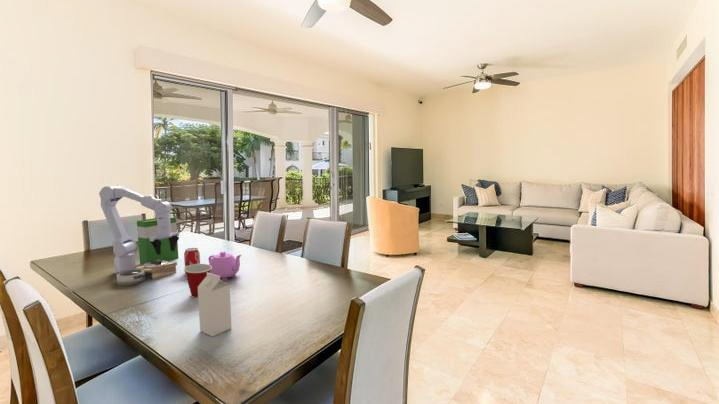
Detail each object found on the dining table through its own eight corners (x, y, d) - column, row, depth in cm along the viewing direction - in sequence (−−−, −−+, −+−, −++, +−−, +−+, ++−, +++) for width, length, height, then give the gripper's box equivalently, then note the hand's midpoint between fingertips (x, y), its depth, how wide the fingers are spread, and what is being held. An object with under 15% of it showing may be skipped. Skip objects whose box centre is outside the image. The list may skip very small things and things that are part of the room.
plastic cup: (201, 300, 140) (199, 271, 139) (179, 298, 143) (177, 269, 142) (219, 291, 151) (217, 264, 149) (198, 288, 154) (196, 262, 152)
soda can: (194, 275, 173) (193, 251, 171) (182, 274, 174) (180, 250, 173) (203, 270, 180) (202, 247, 178) (191, 269, 181) (190, 247, 180)
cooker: (109, 283, 161) (108, 273, 161) (133, 276, 171) (132, 267, 170) (129, 288, 155) (128, 278, 154) (153, 280, 165) (152, 271, 164)
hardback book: (170, 256, 207) (168, 216, 205) (178, 258, 204) (175, 217, 201) (139, 263, 192) (136, 220, 189) (147, 265, 188) (144, 221, 186)
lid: (138, 266, 171) (138, 262, 171) (159, 260, 181) (158, 257, 180) (153, 269, 167) (152, 265, 166) (173, 263, 176) (172, 259, 176)
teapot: (252, 275, 172) (251, 250, 171) (232, 284, 159) (231, 257, 158) (219, 271, 179) (218, 247, 178) (197, 279, 166) (196, 254, 164)
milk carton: (219, 323, 121) (216, 269, 119) (231, 328, 117) (229, 273, 115) (199, 331, 115) (196, 275, 113) (212, 337, 111) (209, 279, 109)
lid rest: (135, 276, 171) (134, 266, 171) (160, 268, 183) (159, 259, 182) (153, 279, 166) (152, 269, 165) (177, 272, 177) (177, 262, 177)
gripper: (155, 229, 166) (157, 257, 168) (182, 224, 179) (184, 250, 180) (145, 227, 169) (147, 255, 171) (173, 223, 182) (174, 248, 184)
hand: (165, 252), depth 176 cm, fingers open, 7 cm apart
